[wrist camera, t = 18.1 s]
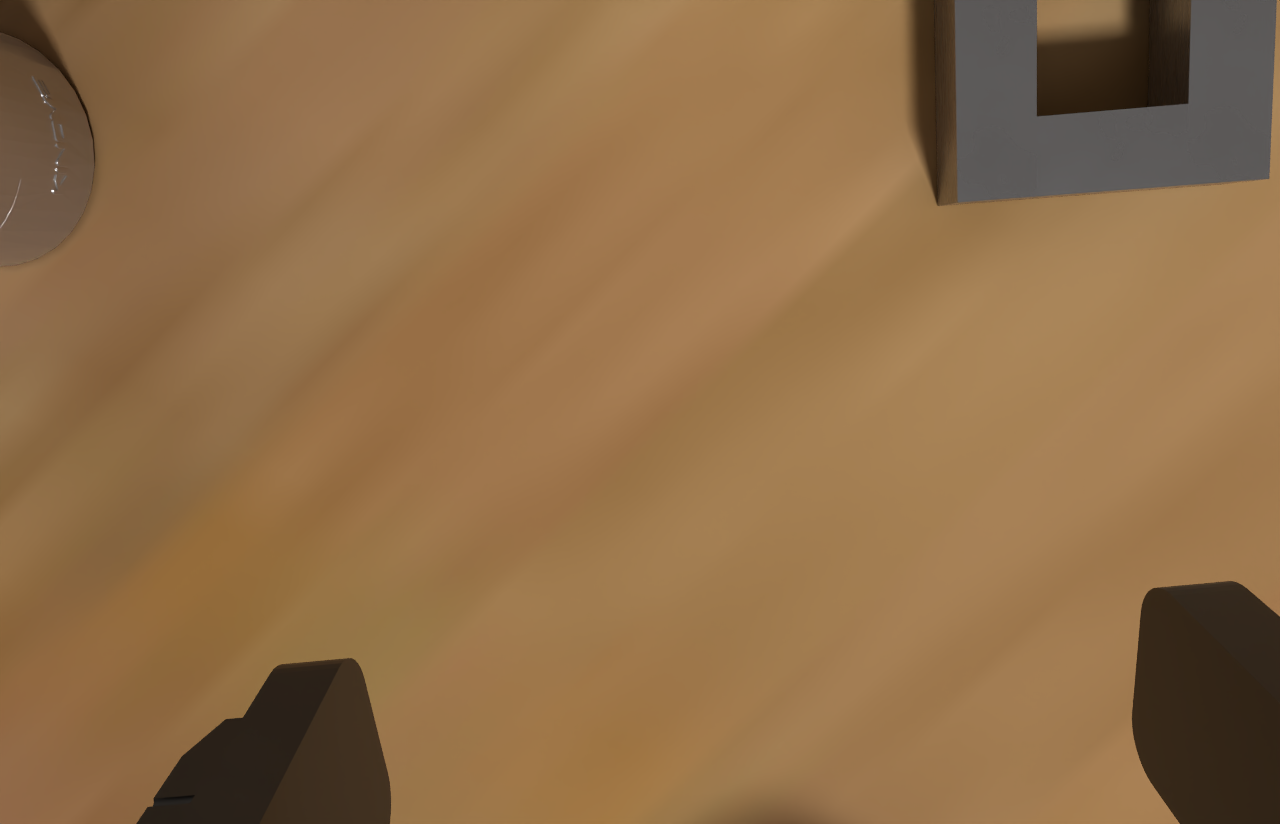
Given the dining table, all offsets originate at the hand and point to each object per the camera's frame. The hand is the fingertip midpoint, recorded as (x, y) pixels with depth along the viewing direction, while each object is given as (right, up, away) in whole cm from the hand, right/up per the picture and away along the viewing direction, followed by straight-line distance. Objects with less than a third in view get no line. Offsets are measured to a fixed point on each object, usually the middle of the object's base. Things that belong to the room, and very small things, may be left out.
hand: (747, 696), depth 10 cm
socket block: (+15, +16, +24) cm, 32 cm away
